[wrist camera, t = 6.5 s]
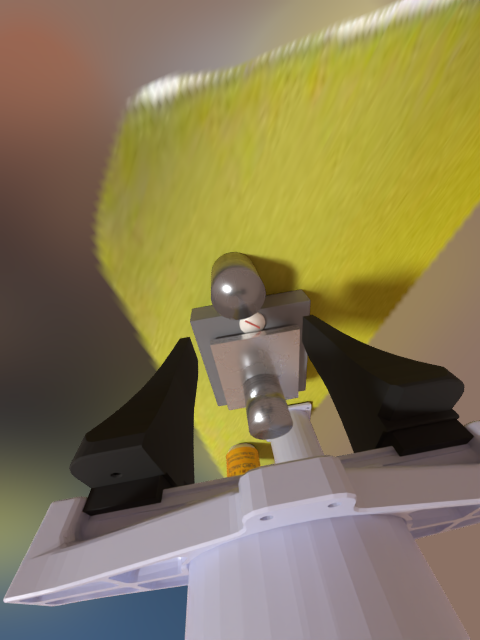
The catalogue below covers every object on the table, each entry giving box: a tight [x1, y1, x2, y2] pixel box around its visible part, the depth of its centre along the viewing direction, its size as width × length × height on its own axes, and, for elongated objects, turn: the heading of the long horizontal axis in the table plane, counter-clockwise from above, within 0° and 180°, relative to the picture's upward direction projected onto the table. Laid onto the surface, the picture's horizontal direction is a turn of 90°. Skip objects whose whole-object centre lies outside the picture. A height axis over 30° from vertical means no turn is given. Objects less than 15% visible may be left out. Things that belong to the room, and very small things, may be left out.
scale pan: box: [210, 325, 300, 410], centre depth 24 cm, size 11×9×1 cm
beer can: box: [226, 443, 260, 477], centre depth 34 cm, size 6×6×15 cm
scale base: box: [190, 290, 310, 406], centre depth 25 cm, size 14×12×3 cm
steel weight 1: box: [211, 252, 266, 320], centre depth 19 cm, size 4×4×5 cm
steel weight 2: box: [243, 374, 293, 440], centre depth 23 cm, size 4×4×5 cm
